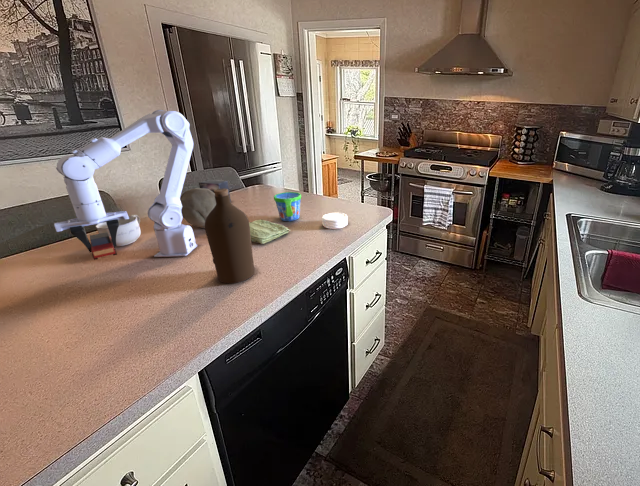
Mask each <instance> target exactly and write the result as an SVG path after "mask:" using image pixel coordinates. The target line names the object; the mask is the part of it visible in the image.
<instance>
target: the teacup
mask: <svg viewBox="0 0 640 486" xmlns="http://www.w3.org/2000/svg"><path fill="white" fill-rule="evenodd" d="M128 217H129V219H125V220H124V219H121V220H118V222H119V227H118V230H117V234H116V245H117V247H124V246H127V245H130V244H132V243H135V242H136V241H137V240H138V239H139V238H140V236H141V234H142V231H141V227H140V224H141V217H140V216H139V215H138V214H131V215H128ZM95 229H96V230H97V232H98V234H100V233H105V232H108V235H109V237H111V235H110V232H109V229H108V226H107V223H106V222H105V223H99V224H95Z"/></svg>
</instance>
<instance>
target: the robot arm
mask: <svg viewBox="0 0 640 486" xmlns="http://www.w3.org/2000/svg"><path fill="white" fill-rule="evenodd" d="M190 126H191V124H190V122H189V120H188V119H186V117H185V116H184V115H183V114H182V113H181V112H179V111H177V110H163V109H156V110H154V111H152V113H147V114H145V115H143V116H142V117H140V118H139V119H137V120H135V121H134V122H133V123H131V124H129V125H128V126H126V127H125V128H123V129H122V130H121V131H119V132H117V133H115V134H114V135H113V136H110V137H105V136H104V137H103V136H100V137H98V138H97V137H92V138H91V139H89V142H90V143H87V144H86V145H84V146H83V147H81V148H79V149H73V150H72V151H71V154H69V155H64V156H62V157H60V158H59V159H58V160H57V163H56V167H55V169H56V171H57V172H58V173H59V174H60V175H62V178H63V182H64V184H65V189H66V192H67V194H68V198H69V199H70V202H71V205H72V208H73V210H74V213H75V216H76V217H75V218H71V219H67V220H62V221H57V222H54V223H53V226H54V229H55V231H56V233H59V232H63V231H65V230H70V233H71V234H72V235H73V236H74V237H75V238H76V239H78V240H79V241H80V242H81V243H82V244H83V245H84V246H85V247H86V249H87V250H88V253H92V250H91V241H90V238H89V237H88V234H87V232H86V229H85V227H88V226H92V225H97V224H99V223H105V222H106V223H107V226H108V229H109V232H110V235H111V240H112V243H113V246H114V247H115V248H118V246H117V245H116V234H117V230H118V227H119V222H118V220H121V219H124V220H125V219H129V217H128V216H129V214H128V211H127V210H122V211H116V212H115V211H114V212H113V211H112V212H106V209H105V205H104V203H103V200H102V198H101V194H100V192H99V189H98V185H97V183H96V182H95V178H94V175H95V172H96V171H95V170H99V169H100V168H102V167H104V166H105V165H107V164H109V163H110V162H111V161H113V160H115V159H116V158H118V157H119V156H121V151H122V148H124V147H125V146H128V145H129V144H131V143H133V142H136V140H138V139H140V138H142V137H144V136H145V135H147V134H154V133H155V134H156V133H158V134H160V133H161V134H162V135H163V136H164V137H165V138H166V139H167V140H168V142H169V143H170V144H171V147H170V152H169V155H168V160H167V163H166V167H165V171H164V174H163V178H162V182H161V187H160V191H159V194H158V195H157V196H155V198H154V200H153V202H152V204H151V206H150V207H148V209H147V217H148V219H149V220H150V221H152V222H153V223H154V224H153V231H154V235H155V239H156V242H157V245H158V249H159V251H158V252H156V253H155V255H153V256H154V258H168V257H187V256H188V255H189V254H190V253H192V251H194V250H195V249H196V248H197V247H198V244H197V243H196V242H197V241H196V238H195V233H194V230H193V228H192V225H189V224H188V225H187V224H183V223H182V222H183V219H184V218H183V217H182V213H181V209H182V204H181V201H180V197H181V196H182V191H183V187H184V183H185V180H186V177H187V172H188V169H189V165H190V161H191V156H192V153H193V150H194V139H193V137H192V133H191V130H190Z"/></svg>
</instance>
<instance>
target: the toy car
mask: <svg viewBox="0 0 640 486" xmlns="http://www.w3.org/2000/svg"><path fill="white" fill-rule="evenodd" d="M89 242H90V244H91V250H92V252H91V256H92V258H93V260H94V261H96V260H99V258H103V257H107V256H112V255H113V256H118V253H117V250H116V247H114V246H113V243H112V240H111V237H109V235H108V232H105V233H100V234H99V233H96V234H91V235H89Z"/></svg>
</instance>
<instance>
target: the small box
mask: <svg viewBox="0 0 640 486" xmlns="http://www.w3.org/2000/svg"><path fill="white" fill-rule="evenodd" d="M228 181H229V180H225V179H210V178H207V179H205V180H202V181H199V182H198V186H199V188H206V189H209V190H211V191H212V192H213V193H214V190H216V189H223V188H224V189H228V194H229V196H230V202H231V203H232V199H231V194H230V187H229V183H228ZM214 194H215V193H214Z"/></svg>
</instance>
